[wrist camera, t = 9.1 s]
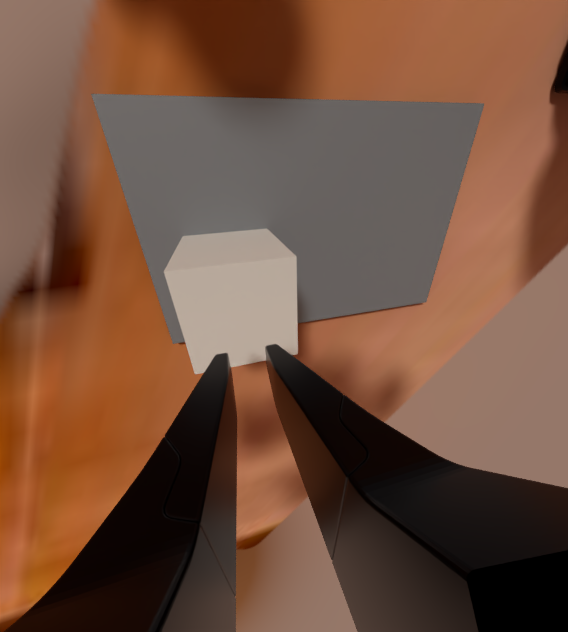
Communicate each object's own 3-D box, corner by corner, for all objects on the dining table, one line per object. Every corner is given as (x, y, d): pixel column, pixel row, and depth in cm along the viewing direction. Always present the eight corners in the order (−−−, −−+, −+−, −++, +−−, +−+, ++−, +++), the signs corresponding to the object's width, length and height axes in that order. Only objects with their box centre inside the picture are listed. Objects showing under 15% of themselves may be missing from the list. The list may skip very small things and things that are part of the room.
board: (475, 105, 16) (484, 103, 15) (421, 299, 23) (426, 302, 22) (96, 97, 11) (91, 93, 11) (174, 339, 18) (173, 343, 18)
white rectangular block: (266, 228, 16) (296, 256, 10) (272, 300, 18) (297, 354, 13) (182, 236, 15) (163, 271, 9) (201, 311, 17) (195, 374, 12)
